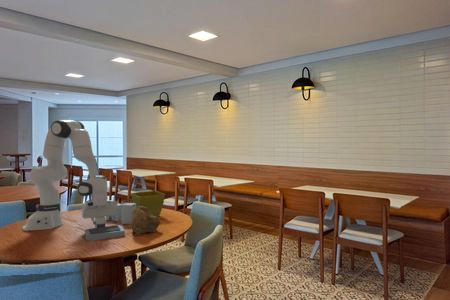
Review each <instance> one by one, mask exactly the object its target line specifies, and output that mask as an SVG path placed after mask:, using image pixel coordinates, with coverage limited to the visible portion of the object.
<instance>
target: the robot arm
mask: <svg viewBox="0 0 450 300" xmlns="http://www.w3.org/2000/svg"><path fill="white" fill-rule="evenodd" d="M90 137H91V136H90V134H89V131H87V130H85V126H84V124H83V123H82V122H81V121H78V120H73V119H57V120H55V121H53V122H51V125H50V128H49V129H48V131H47V133H46V135H45V140H44V145H43V152H42V156H43V158H44V159H45V160H46V162H47V165H41V166H38V167H34V168H32V169H31V170H30V172H29V179H30V182H32V183H33V184H34V185H35V186H36V188H37V189H38V192H39V202H40V203H39V204H36V206H35V208H36V211H35V212H34V213H32V214H31V215H30V216H28V218H27V220H26V224H25V225H23V226H22V231H24V232H29V230H30V231H40V230H41V231H42V230H52V229H54V228H57V227H60V226H61V227H62V225H64V224H63V221H62V215H61V211H62V209H61V207H62V205H61V202H60V201H61V200H60V191H59V189H58V188H55V185H54V183H55V182H60V181H63V180H65V179H66V178H67V176H68V174H69V173H68V172H69V171H68V168H67V166H65V164H64V161H63V154H64V148H65V141H66V139H69V140H70V141H71V147H72V148H71V150H72V155H73V157H74V158H75V160H77V161H78V162H81V163H83V164H84V165H85V166H86V167H87V170H88V175H89V179H87V180H86V179H85V180H83V181H81V182H79V183H78V184H77V187H76V188H77V189H76V190H77V193H78V194H79V195H80V196H82V197H89V196H91V199H89V200H85V201H84V204H83V207H82V212H81V213H82V214H81V217H82V218H83V219H84V220H85V219H91V221H92V225H93V226H95V225H96V221H95V217H105V224H107V223H108V221H109V220H108V218H109V216H113V215H116V214H117V203H118V202H117V200H108V180H107V177H106V176H104V175H101V174H100V171H99V166H98V163H97V159H96V156H95V154H94V152H93V148H92V142H91V141H92V140H91V138H90Z"/></svg>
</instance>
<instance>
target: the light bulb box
mask: <svg viewBox="0 0 450 300" xmlns="http://www.w3.org/2000/svg"><path fill="white" fill-rule="evenodd" d="M123 204H124V203H118V202H117V214H116V215H113V216H109V218H108V220H107V221H115V222H120V221H122V219H121V205H123Z"/></svg>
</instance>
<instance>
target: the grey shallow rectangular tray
mask: <svg viewBox="0 0 450 300" xmlns="http://www.w3.org/2000/svg"><path fill="white" fill-rule="evenodd" d="M125 232H126V230H125V229H124V228H123V227H122V226H121V225H120V224H117V225H110V226H109V225H108V226H105V227H99V228H95V227H93V228H87V229H84V236H85V239H86V241H87V242H91V241H97V240H99V241H100V240H103V239H105V240H106V239H110V238H111V239H113V238H119V237H125V235H126V233H125Z"/></svg>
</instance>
